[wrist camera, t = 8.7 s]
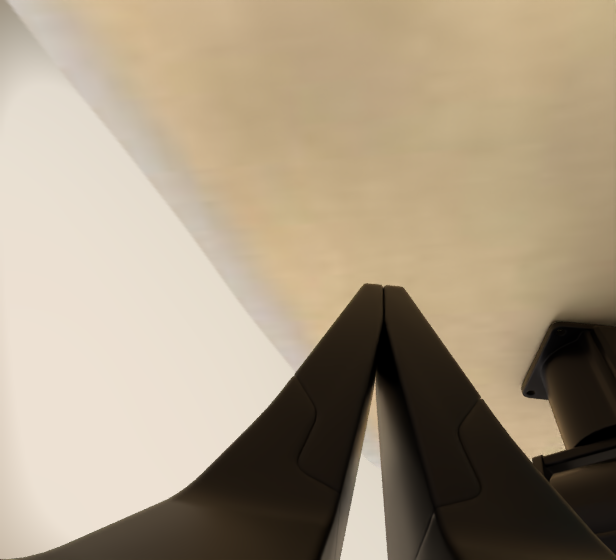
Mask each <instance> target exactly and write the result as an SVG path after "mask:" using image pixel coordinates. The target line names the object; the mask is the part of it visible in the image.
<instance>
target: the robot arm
mask: <svg viewBox="0 0 616 560" xmlns="http://www.w3.org/2000/svg"><path fill="white" fill-rule="evenodd" d="M560 329H562V330H561V331H558V330H560ZM375 377H376V383H375ZM374 384H376V402H377V416H378V429H379V443H380V457H381V471H382V483H383V497H384V512H385V526H386V540H387V553H388V560H616V327H614V326H603V325H593V324H582V323H572V322H555V323H553V324H552V325H551V326H550V327H549V330H548V332H547V334H546V336H545V338H544V340H543V342H542V344H541V347H540V349H539V351H538V353H537V355H536V357H535V359H534V362H533V364H532V366H531V368H530V370H529V372H528V374H527V376H526V379H525V381H524V383H523V385H522V387H521V390H522V393H523V395H524V396H525V397H528V398H536V399H544V400H549V403H550V406H551V409H552V411H553V414H554V417H555V420H556V423H557V425H558V428H559V431H560V434H561V437H562V439H563V442H564V445H565V448H566V450H564V451H560V452H557V453H554V454H550V455H547V456H543V455H540V456H537V457H533V458H532V461H533V463H532V462H531V461H530V460H529V459H528V457H527V456H526V455H525V454H524V453H523V451H522V450H521V449H520V448H519V447H518V445H517V444H516V443H515V442H514V441H513V439H512V438H511V437H510V436H509V434H508V433H507V432H506V430H505V429H504V428H503V426H502V425H501V424H500V422H499V421H498V420H497V418H496V417H495V416H494V414H493V413H492V411H491V410H490V409H489V407H488V406H487V404H486V403H485V402H484V400H483V399H480V398H481V397H480V395H479V393H478V392H477V391H476V389H475V388H474V386H473V385H472V383H471V382H470V381H469V379H468V378H467V376H466V375H465V374H464V372H463V371H462V369H461V368H460V367H459V365H458V364H457V362H456V361H455V359H454V358H453V357H452V355H451V354H450V352H449V351H448V350H447V348H446V347H445V345H444V344H443V343H442V341H441V340H440V338H439V337H438V335H437V334H436V333H435V331H434V330H433V328H432V327H431V326H430V324H429V323H428V321H427V320H426V319H425V317H424V316H423V314H422V313H421V311H420V310H419V309H418V307H417V306H416V304H415V303H414V302H413V300H412V299H411V297H410V296H409V295H408V293H407V292H406V290H405V289H404V288H403V287H400V286H389V285H386V286H384V288H383V286H382V285H378V284H368V283H367V284H364V285H363V286H362V287H361V288H360V290H359V291H358V292H357V294H356V295H355V296H354V297H353V299H352V300H351V301H350V303H349V304H348V305H347V307H346V308H345V309H344V310H343V312H342V313H341V314H340V316H339V317H338V318H337V320H336V321H335V322H334V323H333V325H332V326H331V327H330V329H329V330H328V331H327V333H326V334H325V335H324V337H323V338H322V339H321V340H320V342H319V343H318V344H317V346H316V347H315V348H314V350H313V351H312V352H311V353H310V355H309V356H308V357H307V359H306V360H305V361H304V363H303V364H302V365H301V366H300V368H299V369H298V370H297V372H296V373H295V375H294V376H293V377H292V378H291V380H290V381H289V382H288V383H287V385H286V386H285V387H284V388H283V390H282V391H281V392H280V393H279V395H278V396H277V397H276V398H275V400H274V401H273V402H272V403H271V404H270V405H269V407H268V408H267V409H266V410H265V411H264V412H263V413H262V414H261V415H260V416H259V417H258V418H257V419H256V420H255V421H254V422H253V423H252V425H250V426H249V427H248V429H246V430H245V431H244V432H243V433H242V434H241V435H240V436H239V437H238V438H237V439H236V440H235V441H234V442H233V443H232V444H231V445H230V446H229V447H228V448H227V449H226V450H225V451H224V452H223V453H222V454H221V455H220V456H219V457H218V458H217V459H216V460H215V461H214V462H213V463H212V464H211V465H210V466H209V467H208V468H207V469H206V470H205V471H204V472H203V473H202V474H201V475H200V476H199V477H198V478H197V479H196V480H195V481H193V482H192V483H191V484H190V485H188V486H187V487H186V488H184V489H183V490H182V491H180V492H179V493H177V494H176V495H174V496H172V497H171V498H169V499H167V500H165V501H163V502H161V503H158V504H156V505H154V506H151V507H149V508H147V509H144V510H142V511H140V512H138V513H135V514H133V515H131V516H129V517H126V518H124V519H122V520H120V521H117V522H115V523H113V524H110V525H108V526H106V527H104V528H101V529H99V530H97V531H94V532H92V533H90V534H88V535H85V536H83V537H81V538H78V539H76V540H74V541H72V542H69V543H67V544H65V545H62V546H60V547H57V548H55V549H52V550H49V551H47V552H44V553H40V554H36V555H32V556H28V557H24V558H15V559H0V560H340V556H341V551H342V546H343V541H344V536H345V531H346V526H347V521H348V516H349V511H350V506H351V501H352V496H353V490H354V486H355V481H356V475H357V470H358V466H359V460H360V456H361V451H362V446H363V441H364V436H365V431H366V426H367V421H368V415H369V410H370V405H371V400H372V395H373V390H374Z"/></svg>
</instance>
